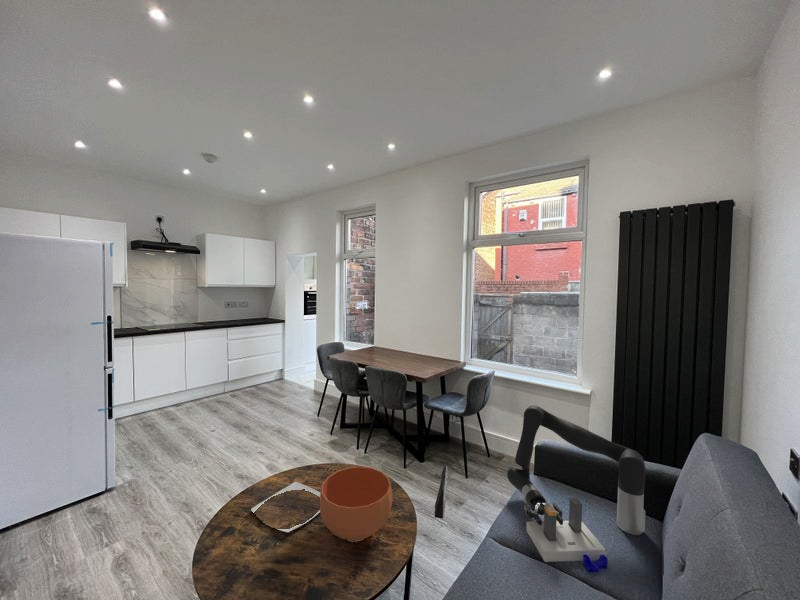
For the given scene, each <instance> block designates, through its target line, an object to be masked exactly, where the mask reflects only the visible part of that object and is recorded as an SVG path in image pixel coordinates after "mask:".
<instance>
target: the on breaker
mask: <svg viewBox="0 0 800 600" xmlns="http://www.w3.org/2000/svg"><path fill="white" fill-rule="evenodd" d="M568 505H569V506H568V507H569V508H568V511H569V512H568V521H569V526H570V528H571V529H572V530H573V531H574V533H577V532H581V526H582V522H583V521H582V520H583V516H582V515H583V503H582V502H581V501H580V500H579V499H578V497H570V498H569V504H568Z"/></svg>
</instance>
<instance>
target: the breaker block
mask: <svg viewBox="0 0 800 600" xmlns="http://www.w3.org/2000/svg"><path fill="white" fill-rule="evenodd" d="M525 531H526V533H527V534H528V536H529V538H530V540H531V541H532V543H533V545H534V546H535V548H536V549H537V551H538V553H539V555H540V557H541V558H542V560H543V561H544V562H545V563H549V562H577V561H578V562H579V561H582V562H583V555H588V557H589V558H590V560H591V561H596V560H598V559H599V557H600V555H605V556H606V553H607V549H606V548H605V547H604V546H603V544H601V542H600V541H599V540H598V539H597V538H596V536H595V535H594V534H593V533H592V532H591V531H590V529H589V528H588V527H587V526H586V525H585V523H584V522H583V521H582V526H581V532H577V533H574V531H573V530H572V529H571V528H570V526H569V520H563V525H560V524H559V522H558V521H557V520H556V541H548V539H547V538H546V536H545V535H544V520H542V525H539V524H538V523H537V522H536V521H526V529H525ZM606 557H607V556H606Z"/></svg>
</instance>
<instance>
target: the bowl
mask: <svg viewBox="0 0 800 600" xmlns="http://www.w3.org/2000/svg"><path fill="white" fill-rule="evenodd" d="M392 506H393V489H392V484H391V481H390V477H388V476H387V475H386V474H385V473H384V472H383V471H381V470H379V469H377V468H374V467H369V466H361V465H360V466H349V467H346V468H343V469H339V470H336V471H335V472H333V473H332V474H330V475H329V476H327V477H326V479H325V480H324V482H323V483H322V485H321V488H320V513H319V514H320V517H321V520H322V522H323V523H324V525H325V527H326V528H327V529H328V530H329V531H330V532H331V533H332V534H333V535H335V536H336V537H338V538H340V539H342V540H345V539H347V540H353V541H356V540H361V539H365V538H366V539H367V538H369V537H371V536H373V535H375V534H376V533H377V532H378V531H379V530H380V529H381V528H382V527H383V525H384V524H385V523H386V522H387V520H388V517H389V515H390V512H391V508H392ZM366 539H365V540H366ZM347 540H346V541H347Z"/></svg>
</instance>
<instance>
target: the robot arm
mask: <svg viewBox="0 0 800 600" xmlns="http://www.w3.org/2000/svg"><path fill="white" fill-rule="evenodd" d="M522 419H523V420H522V421H523V422H522V431H521V436H520V439H519V443H518V446H517V450H516V454H515V458H514V462H515V464H517V466H519V467H521V469H520V468H517V467H510V468H508V470H507V472H506V474H507V475H506V477H507V479H508V482H510V484H511V485H512V486H513V487H514V488H516V489H517V490H518V491H519V492H520V494H521V495H522V497H523V499H524V501H525V502H526V503H524V506H523V507H524V508H523V510H524V512H525V514H526V516H527V518H528V519H533V520H535V522H537V523H538V524H539V525H542V521H543V520H542V518H541V517H540V516H543V515H544V505H550V504H549V503H548V502H547V500H546V498H545V497H544V496H543V494H542V493H541V492H540V490H539V489H538V488H537V487H536V486H535V485H534V484H533V482H532V481H531V479H530V478H531V475H530V474H531V473H530V472H531V471H530V466H531V465H530V464H531V460H532V457H533V452H534V444H535V439H536V435H537V433H538V430H539V428H540V426H541V427H544V428H545V429H548V430H550V431H551V432H553V433H555V434H556V435H557V436H559V437H560V438H561V439H563V440H564V441H566V442H567V443H569V444H571V445H572V446H573V447H576V448H579V450H582V451H585V452H590V453H593V454H599V455H602V456H605V457H607V458H609V459H611V460H613V461H615V462H616V463H618V480H617V504H616V506H617V508H616V525H617V527H618V528H619V529H620V530H621V531H623V532H625V533H626V534H629V535H632V536H640V535H642V534H643V533H645V532H646V530H645V529H646V528H645V526H646V510H645V509H644V501H645V500H644V497H645V486H646V465H645V464H646V463H645V460H644V457H643V456H642V454H640V453H639V452H638V451H636V450H634V449H632V448H629V447H626V446H625V445H621V444H619V443H616V442H612V441H610V440H609V439H607V438H604V437H602V436H601V435H599V434H596V433H594V432H592V431H590V430H589V429H586V428H584V427H582V426H579V425H577V424H575V423H574V422H573V423H572V422H570V421H568V420H566V419H562V418H560V417H559V416H556V415H554V414H553V413H551V412H549V411H547V410H546V409H544V408H542V407H540V406H538V405H530V406H528V407H527V408H526V409H525V410H524V412H523V418H522ZM551 505H552V506H553V507H554V509H555V510H556V511H557V519H556V521H558V522H559V524H560V525H563V521H564V518H563V510H562V509H561V508H560V507H559V506H558V504H557V503H555V502H553V503H552V504H551ZM539 515H540V516H539Z"/></svg>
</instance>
